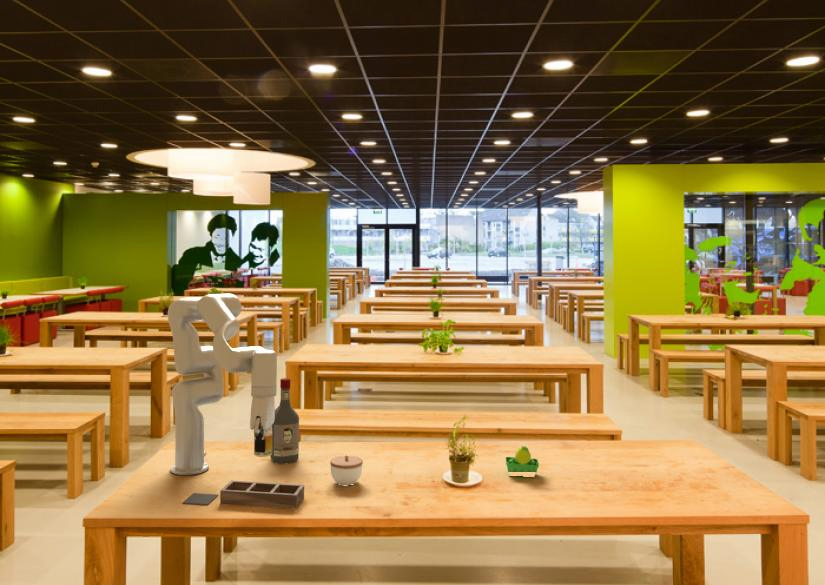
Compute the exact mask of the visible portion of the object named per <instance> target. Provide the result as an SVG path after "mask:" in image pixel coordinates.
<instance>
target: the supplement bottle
mask: <svg viewBox="0 0 825 585" xmlns="http://www.w3.org/2000/svg"><path fill="white" fill-rule="evenodd" d="M262 428H263V427H260V428H259V429H262ZM269 428H270V427H269ZM269 428H267V429H266V430H265V438H264V439H266V446H265V452H264V453H258V452H255V439H254V437H255V435H253V455H254V456H255V457H258V458H268V457H270V455H271V454H272V431H271V430H270V429H269ZM260 432H261V434H262V431H260Z"/></svg>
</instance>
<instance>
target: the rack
mask: <svg viewBox="0 0 825 585" xmlns="http://www.w3.org/2000/svg"><path fill="white" fill-rule="evenodd" d="M219 492H220V493H219V494H220V495H219V497H220V500H219V502H220V503H219V504H220V505H228V506H240V507H241V506H243V507H260V508H274V509H291V510H297V509H298V507H299V506H300V504H301V503H302V502H303V501H304V499H305V484H298V483H297V484H295V483H292V484H291V483H278V482H261V481H259V482H258V481H247V480H230V481H229V482H228V483H227V484H226V485H225V486H224V487H223V488H221V489H220V491H219ZM301 501H302V502H301Z"/></svg>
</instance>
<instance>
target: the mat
mask: <svg viewBox="0 0 825 585" xmlns="http://www.w3.org/2000/svg"><path fill="white" fill-rule="evenodd" d="M218 497H219V494H215V493H200V492H193V493H192V494H191V495H189V496H188V497H186V499H184V500H183V501H182V505H194V506H195V505H199V506H209V505H210V504H211V503H212V502H213V501H215V500H216V498H218Z"/></svg>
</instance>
